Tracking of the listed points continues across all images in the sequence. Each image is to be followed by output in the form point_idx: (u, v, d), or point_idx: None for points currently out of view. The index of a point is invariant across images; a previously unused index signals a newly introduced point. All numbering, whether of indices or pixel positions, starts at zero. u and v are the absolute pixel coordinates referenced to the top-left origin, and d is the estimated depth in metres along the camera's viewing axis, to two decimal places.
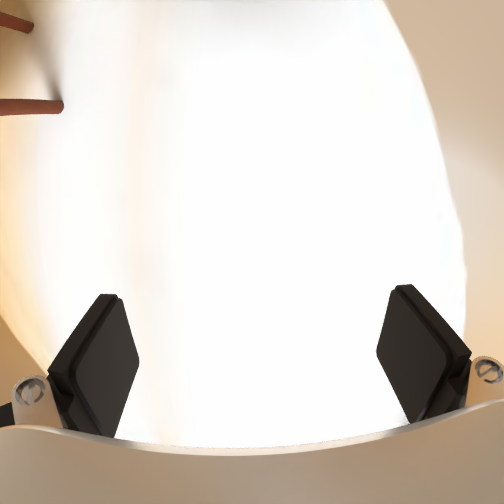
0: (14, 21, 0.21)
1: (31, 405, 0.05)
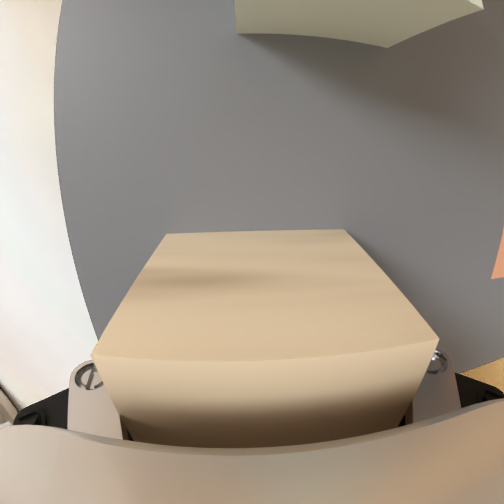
0: None
1: (90, 390, 0.05)
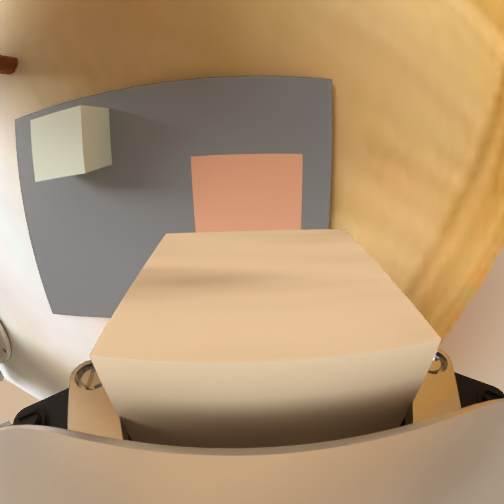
0: None
1: (90, 390, 0.05)
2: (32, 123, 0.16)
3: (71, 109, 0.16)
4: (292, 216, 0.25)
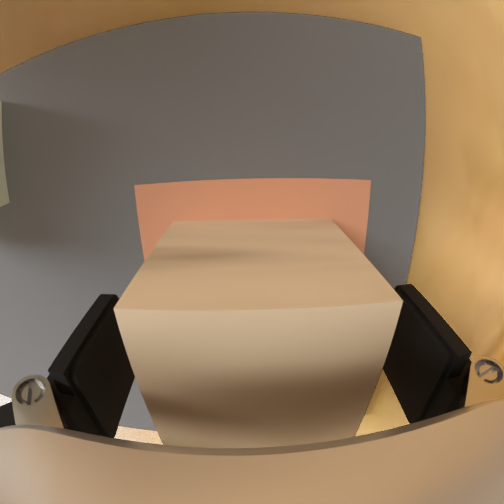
0: None
1: (31, 405, 0.05)
2: None
3: None
4: None
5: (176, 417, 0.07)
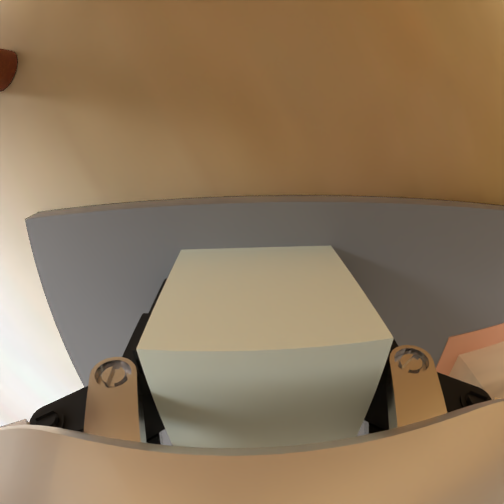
0: None
1: (110, 388, 0.06)
2: (150, 361, 0.05)
3: (354, 347, 0.05)
4: None
5: None
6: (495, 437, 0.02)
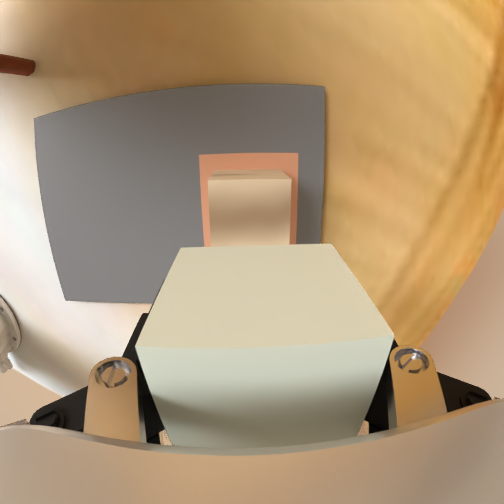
0: None
1: (110, 388, 0.06)
2: (149, 358, 0.05)
3: (355, 345, 0.05)
4: None
5: (220, 227, 0.22)
6: (495, 437, 0.02)
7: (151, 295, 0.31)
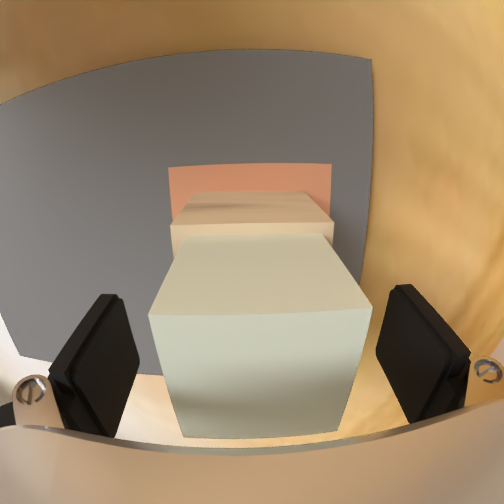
0: None
1: (32, 405, 0.05)
2: (159, 326, 0.06)
3: (337, 314, 0.06)
4: None
5: None
6: (495, 437, 0.02)
7: None
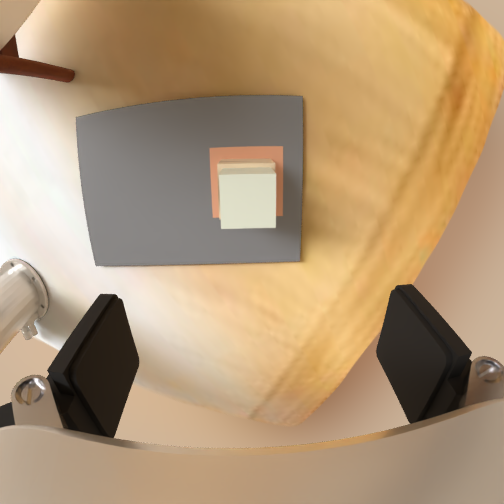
0: None
1: (31, 405, 0.05)
2: (221, 178, 0.26)
3: (266, 175, 0.26)
4: (277, 187, 0.37)
5: None
6: (495, 437, 0.02)
7: (169, 258, 0.40)
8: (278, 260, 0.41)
